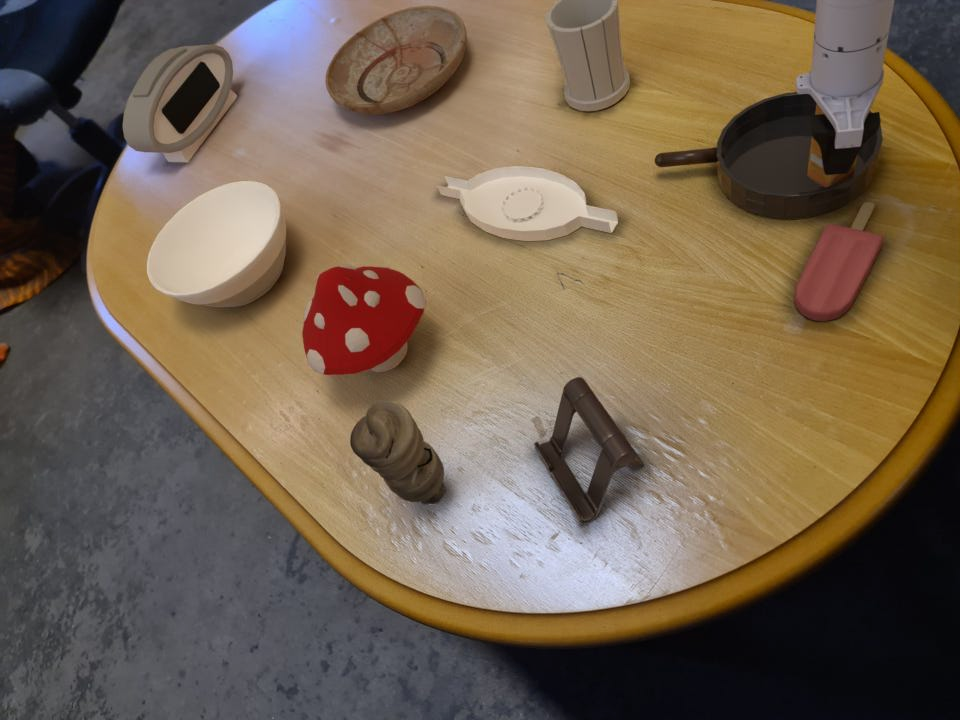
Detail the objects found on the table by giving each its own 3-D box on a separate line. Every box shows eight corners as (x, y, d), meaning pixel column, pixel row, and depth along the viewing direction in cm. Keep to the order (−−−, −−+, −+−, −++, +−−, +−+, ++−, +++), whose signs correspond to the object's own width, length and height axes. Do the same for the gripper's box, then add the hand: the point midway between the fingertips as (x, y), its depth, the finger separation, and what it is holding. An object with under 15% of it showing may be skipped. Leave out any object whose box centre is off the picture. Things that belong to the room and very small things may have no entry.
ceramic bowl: (311, 121, 112) (295, 95, 108) (391, 29, 120) (379, 2, 116) (422, 140, 100) (408, 112, 96) (502, 37, 108) (493, 7, 104)
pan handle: (724, 154, 78) (724, 143, 77) (724, 164, 77) (724, 153, 76) (655, 161, 81) (654, 150, 80) (654, 170, 80) (653, 160, 79)
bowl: (168, 284, 100) (128, 246, 93) (276, 203, 103) (245, 160, 96) (216, 359, 88) (173, 322, 82) (336, 265, 91) (305, 221, 84)
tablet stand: (536, 452, 67) (514, 410, 61) (607, 411, 67) (591, 365, 61) (581, 527, 62) (562, 490, 55) (658, 482, 62) (647, 440, 55)
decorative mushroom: (449, 297, 82) (398, 206, 70) (448, 397, 74) (391, 314, 62) (341, 321, 85) (275, 238, 73) (329, 419, 77) (253, 344, 65)
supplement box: (830, 193, 71) (841, 113, 63) (805, 176, 73) (813, 97, 65) (857, 176, 71) (871, 94, 63) (832, 160, 73) (842, 78, 65)
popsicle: (900, 203, 68) (844, 319, 63) (897, 214, 69) (842, 329, 64) (842, 192, 71) (784, 303, 66) (841, 203, 72) (783, 312, 67)
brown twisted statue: (442, 457, 70) (380, 381, 58) (476, 491, 67) (418, 418, 55) (401, 497, 69) (329, 427, 57) (433, 533, 66) (364, 468, 54)
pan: (871, 108, 78) (875, 82, 75) (883, 214, 70) (889, 189, 67) (719, 125, 83) (718, 101, 81) (715, 224, 75) (714, 201, 73)
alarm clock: (180, 176, 115) (126, 114, 105) (155, 175, 118) (100, 114, 108) (250, 84, 125) (206, 18, 115) (225, 85, 128) (180, 21, 118)
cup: (545, 113, 95) (523, 33, 85) (566, 70, 99) (547, -11, 89) (620, 113, 90) (605, 29, 81) (639, 68, 94) (627, -18, 84)
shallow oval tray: (464, 163, 94) (460, 153, 93) (634, 195, 81) (632, 184, 80) (424, 218, 91) (419, 208, 89) (594, 261, 78) (591, 250, 76)
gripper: (797, -10, 64) (789, 111, 75) (801, 93, 57) (793, 210, 67) (884, -25, 61) (864, 102, 72) (901, 81, 54) (875, 205, 65)
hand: (835, 154), depth 70 cm, fingers closed on supplement box, 4 cm apart
